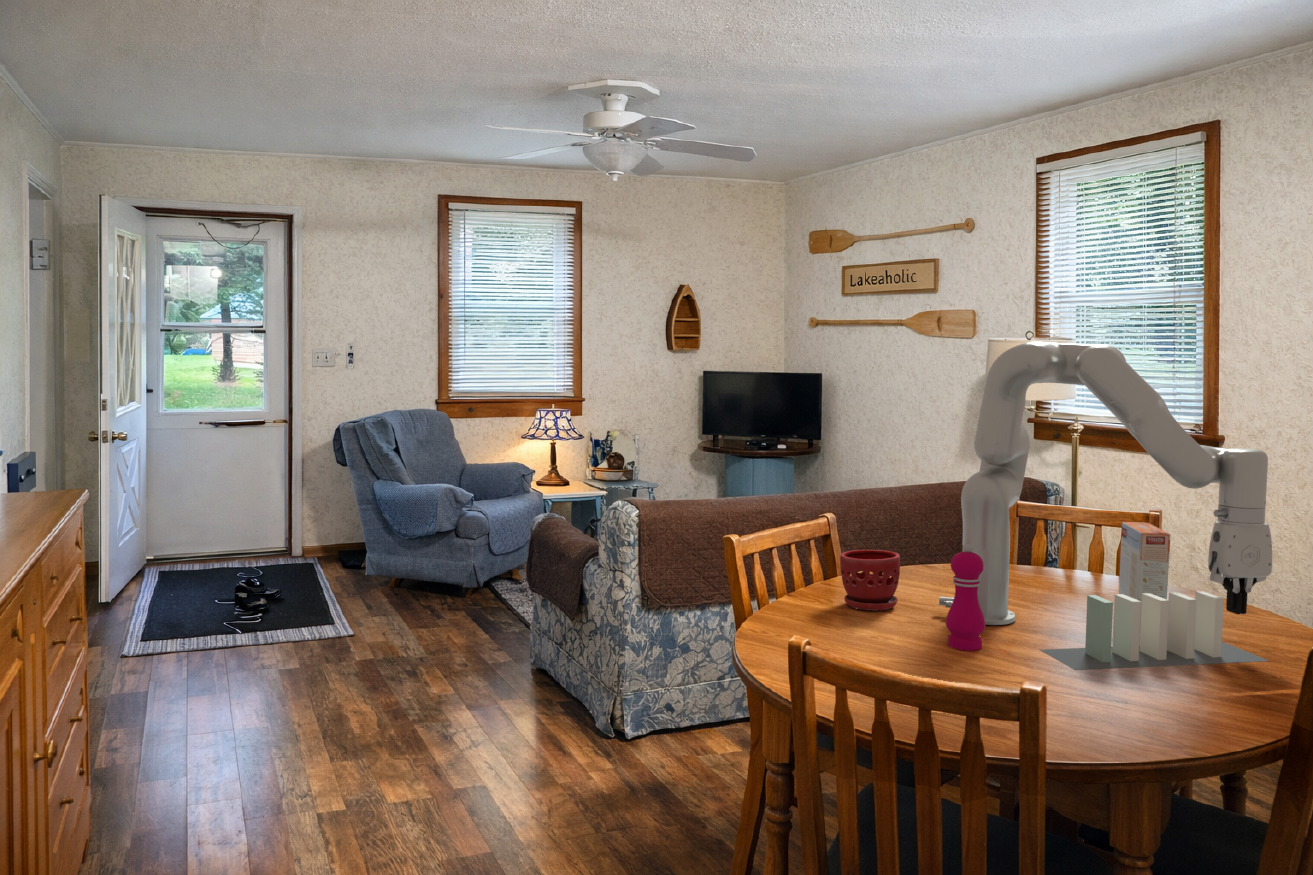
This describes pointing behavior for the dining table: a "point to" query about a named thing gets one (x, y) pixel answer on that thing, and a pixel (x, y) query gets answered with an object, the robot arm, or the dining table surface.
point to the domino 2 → (1154, 626)
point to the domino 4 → (1209, 623)
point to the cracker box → (1144, 560)
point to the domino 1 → (1126, 627)
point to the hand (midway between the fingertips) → (1236, 612)
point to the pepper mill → (966, 602)
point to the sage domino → (1099, 628)
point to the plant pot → (870, 578)
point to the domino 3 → (1181, 625)
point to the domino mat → (1149, 658)
